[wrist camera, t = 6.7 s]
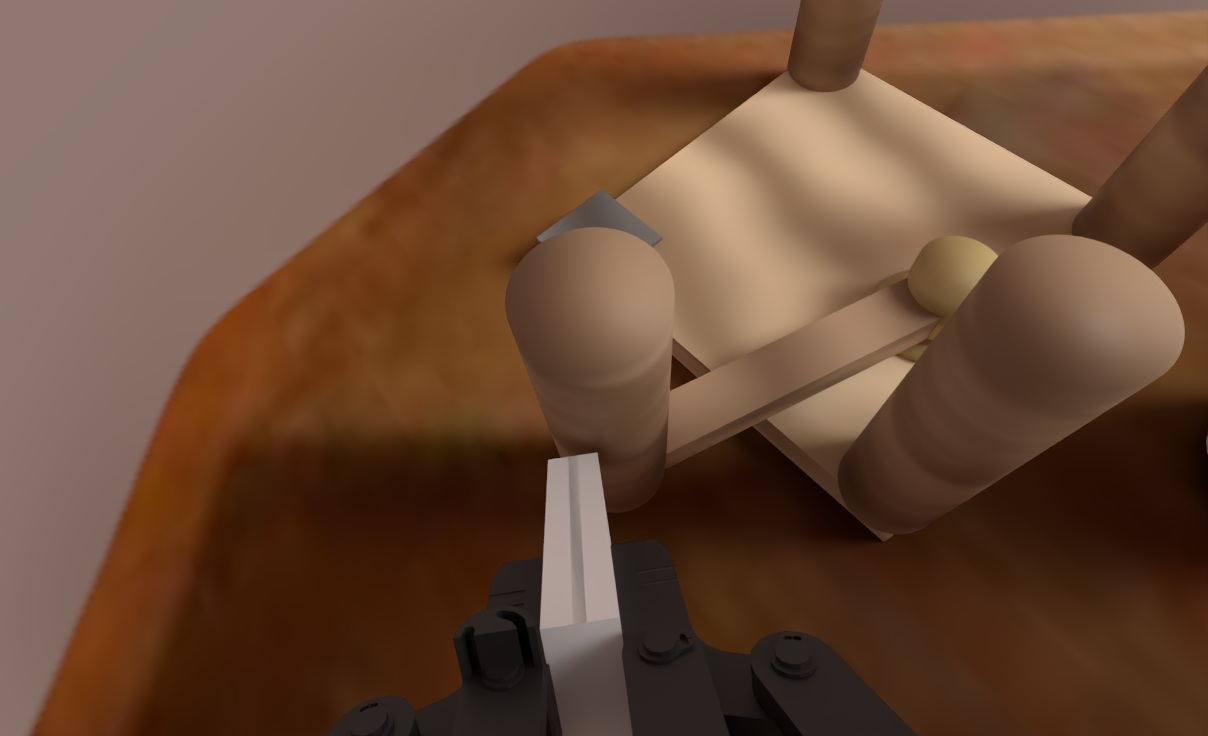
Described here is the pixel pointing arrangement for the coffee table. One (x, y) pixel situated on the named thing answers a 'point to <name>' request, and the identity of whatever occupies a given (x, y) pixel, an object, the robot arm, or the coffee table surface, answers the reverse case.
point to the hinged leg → (644, 351)
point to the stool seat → (885, 255)
